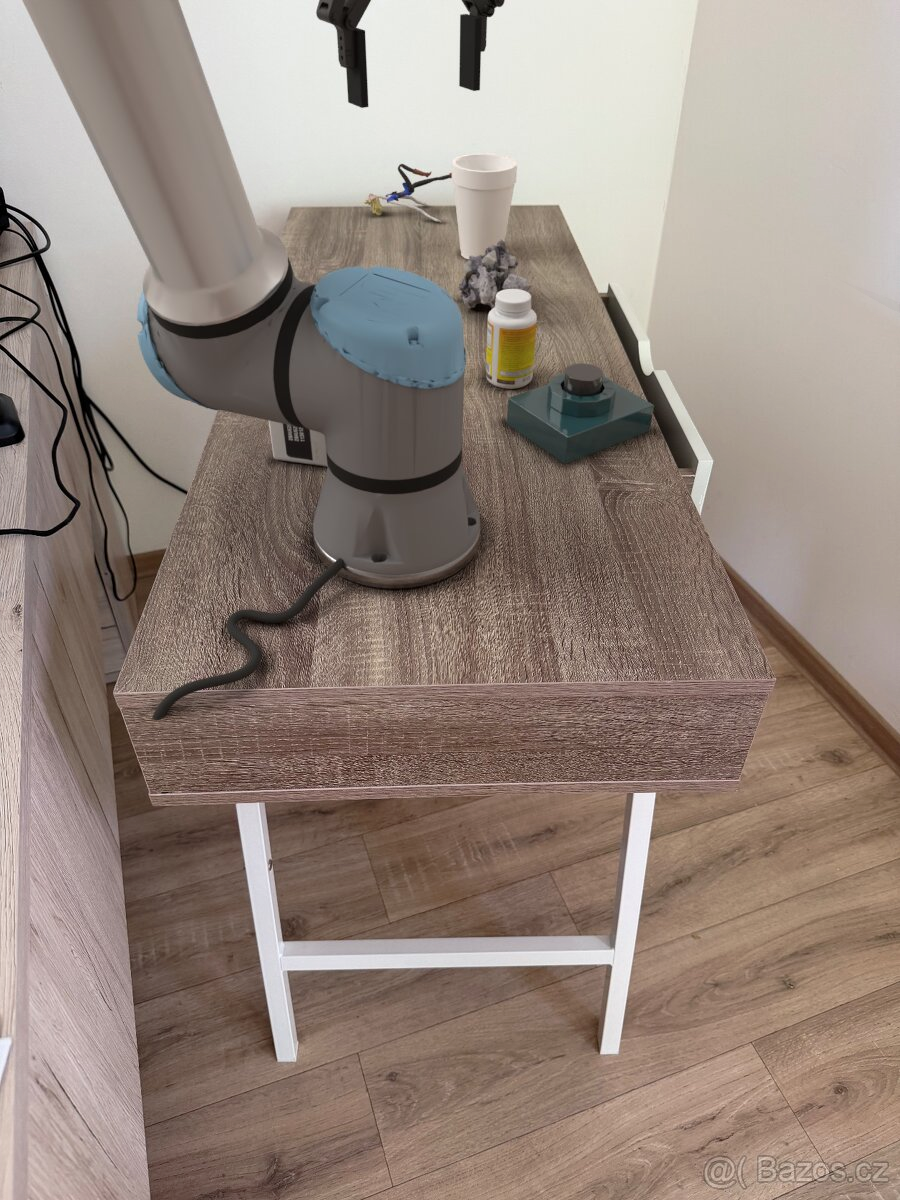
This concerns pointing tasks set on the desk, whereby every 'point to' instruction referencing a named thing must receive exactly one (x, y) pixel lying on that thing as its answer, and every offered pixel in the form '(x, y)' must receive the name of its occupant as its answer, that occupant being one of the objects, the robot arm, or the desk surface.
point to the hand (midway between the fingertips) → (415, 96)
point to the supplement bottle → (511, 340)
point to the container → (297, 444)
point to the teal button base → (578, 418)
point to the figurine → (405, 192)
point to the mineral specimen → (490, 276)
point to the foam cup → (482, 199)
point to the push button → (583, 380)
